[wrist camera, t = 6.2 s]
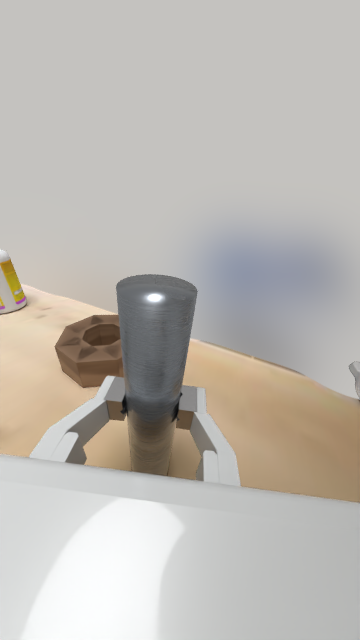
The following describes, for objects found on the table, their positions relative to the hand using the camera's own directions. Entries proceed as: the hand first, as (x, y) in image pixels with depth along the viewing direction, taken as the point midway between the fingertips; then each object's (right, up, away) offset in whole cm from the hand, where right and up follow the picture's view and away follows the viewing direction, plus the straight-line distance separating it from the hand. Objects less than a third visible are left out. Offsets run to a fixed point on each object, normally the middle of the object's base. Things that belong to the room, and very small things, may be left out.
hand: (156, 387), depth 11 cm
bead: (-9, -1, +14) cm, 17 cm away
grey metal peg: (-1, -8, +4) cm, 9 cm away
